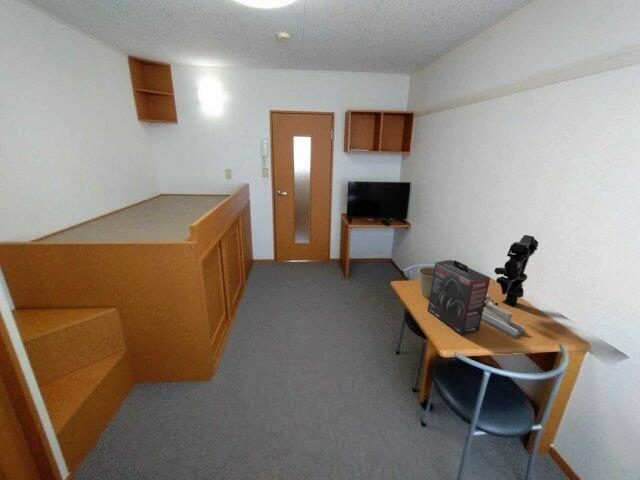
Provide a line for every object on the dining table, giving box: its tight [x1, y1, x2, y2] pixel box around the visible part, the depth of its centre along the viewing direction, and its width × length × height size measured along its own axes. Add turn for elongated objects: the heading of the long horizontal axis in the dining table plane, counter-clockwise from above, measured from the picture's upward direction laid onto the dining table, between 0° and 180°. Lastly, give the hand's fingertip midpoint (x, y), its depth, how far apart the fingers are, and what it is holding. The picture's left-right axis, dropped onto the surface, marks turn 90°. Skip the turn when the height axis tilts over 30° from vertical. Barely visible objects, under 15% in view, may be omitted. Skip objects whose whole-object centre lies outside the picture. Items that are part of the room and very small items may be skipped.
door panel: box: [484, 302, 513, 326], centre depth 149 cm, size 3×12×7 cm, turn 28°
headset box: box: [427, 259, 491, 336], centre depth 147 cm, size 24×13×33 cm, turn 21°
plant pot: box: [418, 266, 434, 299], centre depth 175 cm, size 15×15×16 cm
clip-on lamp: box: [484, 293, 499, 307], centre depth 166 cm, size 12×6×18 cm
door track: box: [481, 307, 526, 339], centre depth 150 cm, size 10×24×4 cm, turn 28°
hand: (508, 292), depth 156 cm, fingers open, 9 cm apart
